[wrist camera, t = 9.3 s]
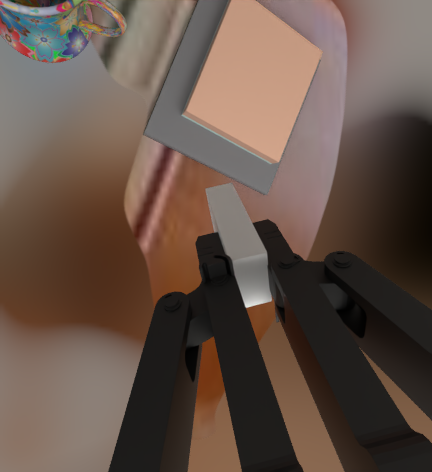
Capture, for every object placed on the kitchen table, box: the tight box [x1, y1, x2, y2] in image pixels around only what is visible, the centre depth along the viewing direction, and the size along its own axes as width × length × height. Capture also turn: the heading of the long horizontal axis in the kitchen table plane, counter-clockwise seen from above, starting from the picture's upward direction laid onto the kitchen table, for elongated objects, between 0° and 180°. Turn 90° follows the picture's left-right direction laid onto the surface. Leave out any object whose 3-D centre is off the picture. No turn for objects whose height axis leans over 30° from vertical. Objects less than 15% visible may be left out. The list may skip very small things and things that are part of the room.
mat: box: [143, 0, 321, 195], centre depth 38 cm, size 18×16×1 cm
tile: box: [181, 0, 323, 164], centre depth 37 cm, size 2×12×14 cm
